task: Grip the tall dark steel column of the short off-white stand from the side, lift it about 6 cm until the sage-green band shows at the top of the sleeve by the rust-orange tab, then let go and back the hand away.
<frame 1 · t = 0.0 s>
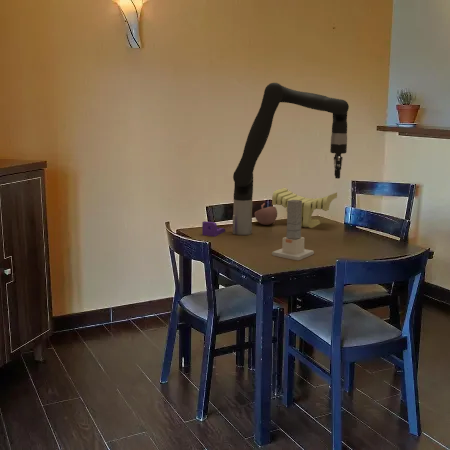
hand: (337, 177, 275), 29 cm above the table, tool pointing down, fingers open, 8 cm apart
column: (293, 226, 246), point 13 cm above the table, slide at 0.0 cm
mortar and pestle: (265, 225, 307), on the table, touching slatted curved stool
stand: (293, 254, 249), on the table
slatted curved stool: (303, 225, 307), on the table, touching mortar and pestle
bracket: (214, 234, 287), on the table
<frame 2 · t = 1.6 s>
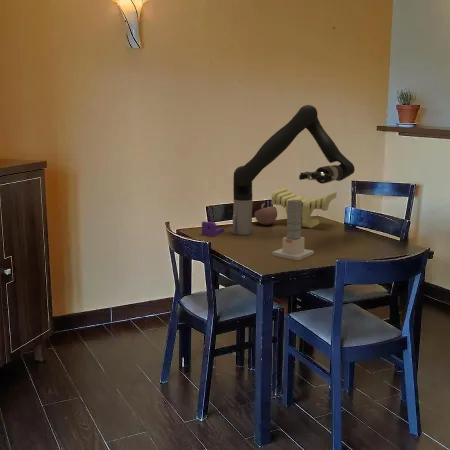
hand: (308, 178, 250), 32 cm above the table, tool horizontal, fingers open, 8 cm apart
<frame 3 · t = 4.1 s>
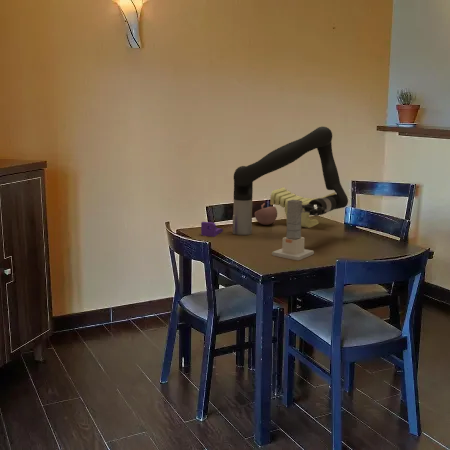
hand: (301, 211, 249), 18 cm above the table, tool horizontal, fingers open, 8 cm apart
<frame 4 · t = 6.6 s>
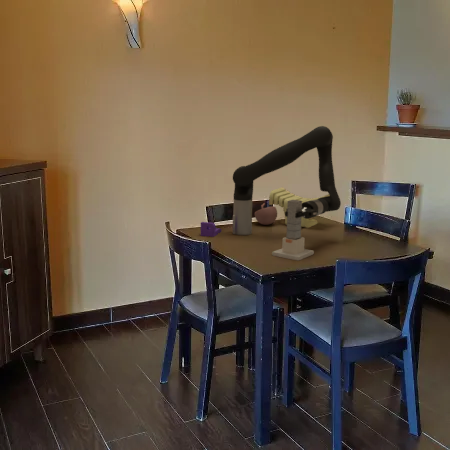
hand: (291, 214, 243), 18 cm above the table, tool horizontal, fingers closed on column, 4 cm apart
column: (293, 226, 246), point 13 cm above the table, slide at 0.0 cm, touching gripper
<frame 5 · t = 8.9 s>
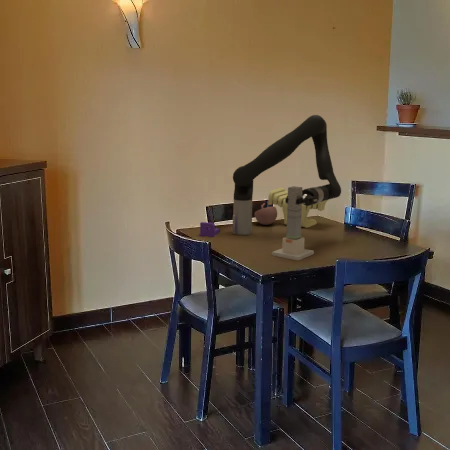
hand: (291, 201, 241), 24 cm above the table, tool horizontal, fingers closed on column, 4 cm apart
column: (294, 213, 245), point 18 cm above the table, slide at 5.7 cm, touching gripper
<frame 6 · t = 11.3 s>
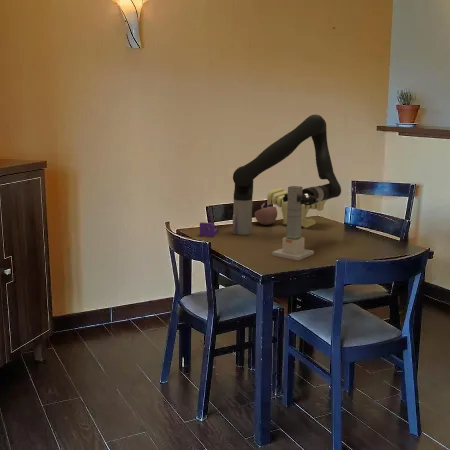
hand: (292, 200, 242), 24 cm above the table, tool horizontal, fingers open, 8 cm apart
column: (294, 212, 245), point 19 cm above the table, slide at 6.0 cm
mortar and pestle: (265, 225, 307), on the table
slatted curved stool: (298, 224, 308), on the table
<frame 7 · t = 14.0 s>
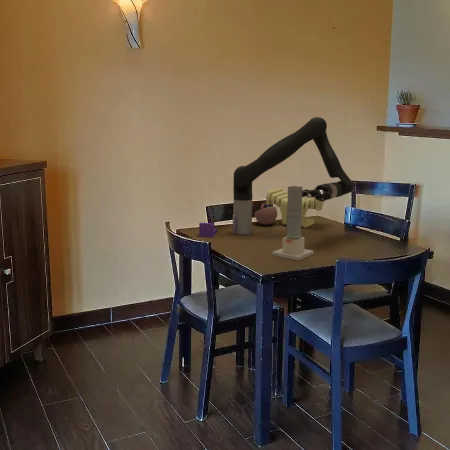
hand: (307, 196, 252), 24 cm above the table, tool horizontal, fingers open, 8 cm apart
mortar and pestle: (265, 225, 307), on the table, touching slatted curved stool
slatted curved stool: (297, 224, 308), on the table, touching mortar and pestle
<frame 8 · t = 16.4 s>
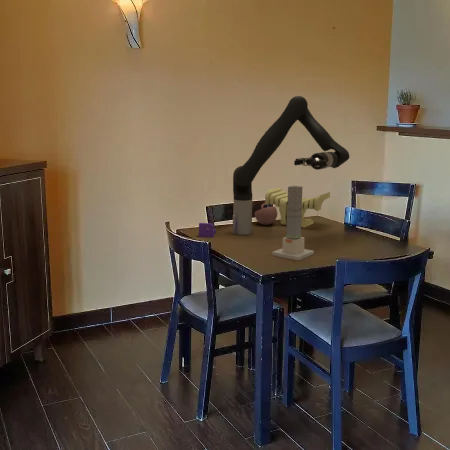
hand: (303, 163, 252), 38 cm above the table, tool horizontal, fingers open, 8 cm apart
at the end: column slide at 6.0 cm; the gripper is holding nothing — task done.
